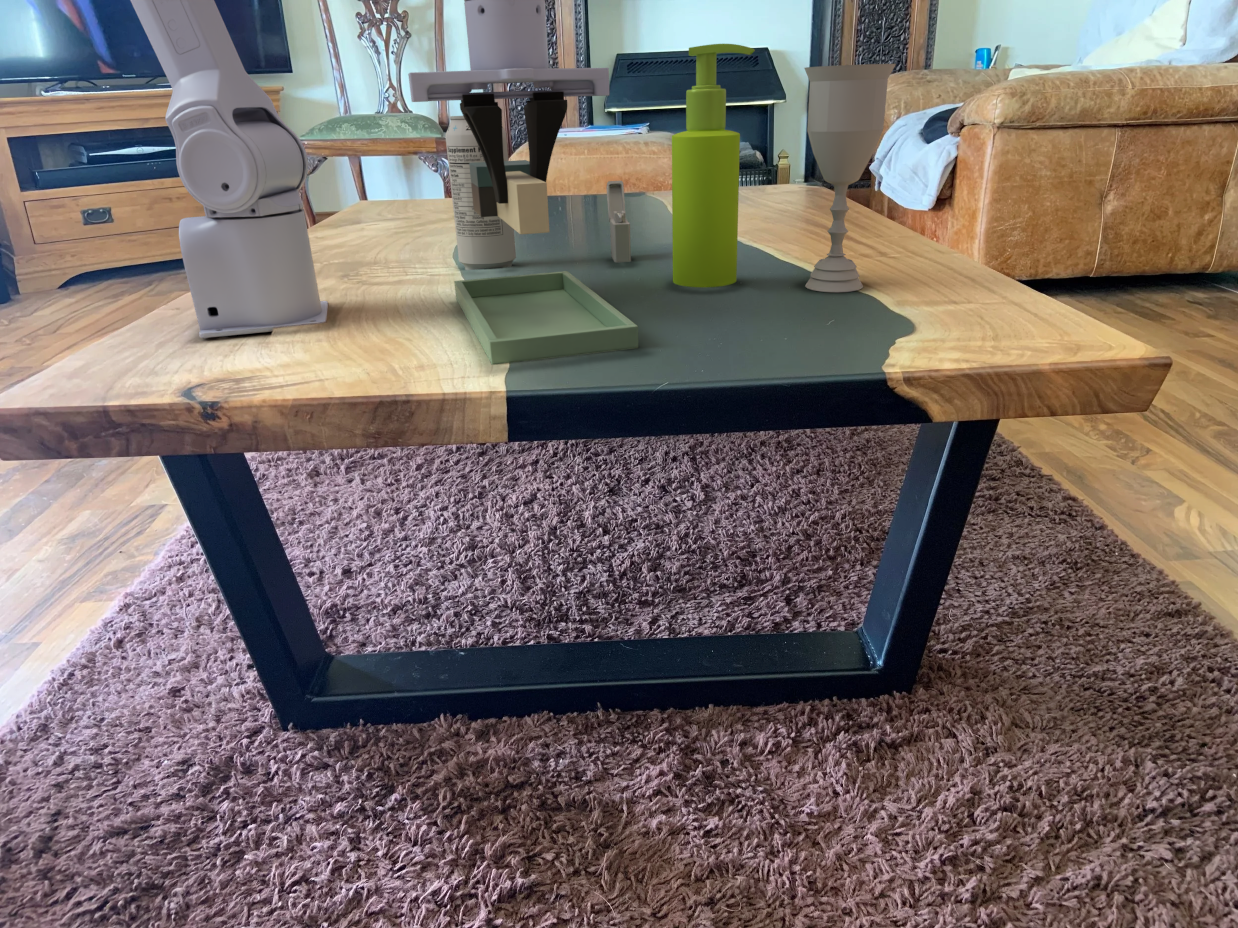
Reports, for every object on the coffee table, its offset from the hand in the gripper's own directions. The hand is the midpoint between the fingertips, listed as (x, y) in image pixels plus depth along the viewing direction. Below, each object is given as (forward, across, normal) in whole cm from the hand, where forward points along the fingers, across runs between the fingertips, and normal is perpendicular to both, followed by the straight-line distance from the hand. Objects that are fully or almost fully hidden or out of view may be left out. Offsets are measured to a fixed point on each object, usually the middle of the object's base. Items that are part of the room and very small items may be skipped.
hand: (519, 201), depth 65 cm
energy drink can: (+9, 0, +23) cm, 25 cm away
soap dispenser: (+9, +18, +5) cm, 21 cm away
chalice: (+9, +28, 0) cm, 30 cm away
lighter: (+9, +14, +21) cm, 27 cm away
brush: (+2, 0, +3) cm, 3 cm away
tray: (+9, 0, -3) cm, 10 cm away
